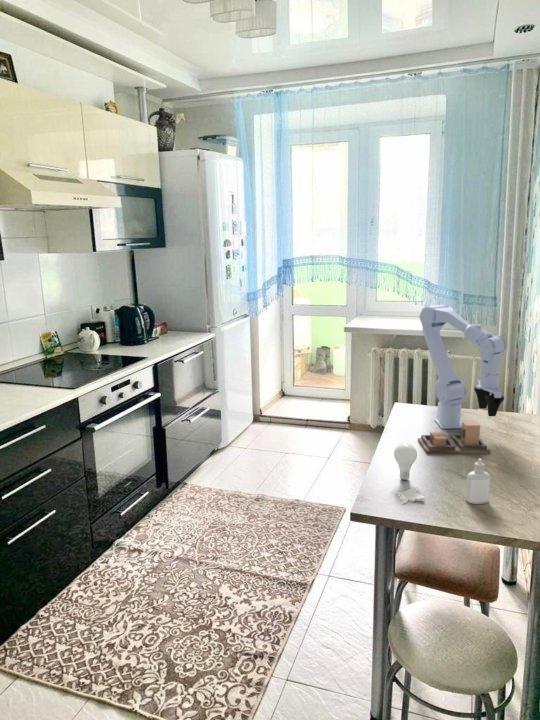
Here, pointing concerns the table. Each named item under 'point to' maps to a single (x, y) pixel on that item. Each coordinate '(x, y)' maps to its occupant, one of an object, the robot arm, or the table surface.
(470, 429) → the pinkish brown block
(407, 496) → the acanthus leaf ornament
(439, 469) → the table surface
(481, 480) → the eye dropper bottle
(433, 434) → the brown flat tray
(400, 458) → the lightbulb
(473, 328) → the robot arm
